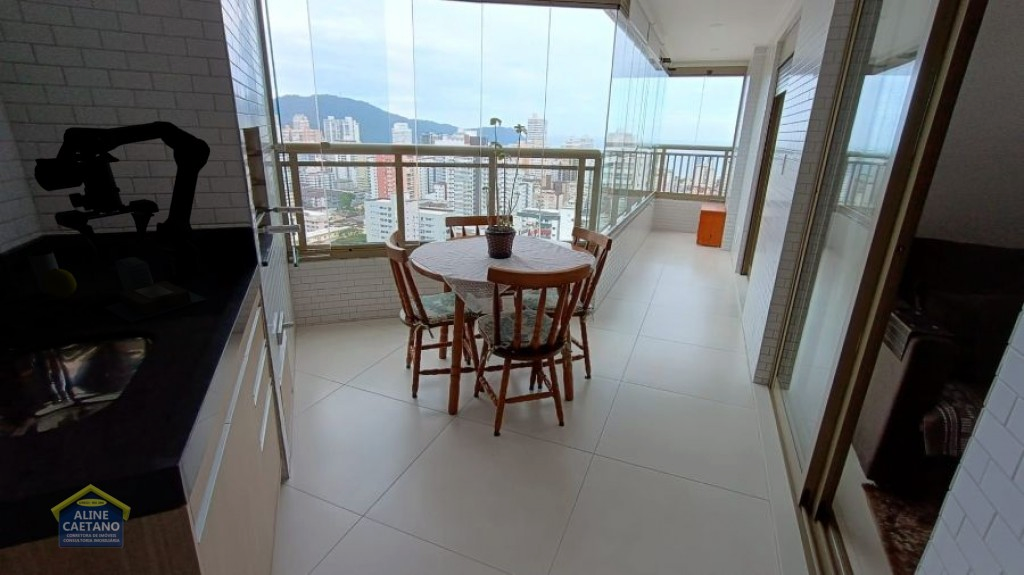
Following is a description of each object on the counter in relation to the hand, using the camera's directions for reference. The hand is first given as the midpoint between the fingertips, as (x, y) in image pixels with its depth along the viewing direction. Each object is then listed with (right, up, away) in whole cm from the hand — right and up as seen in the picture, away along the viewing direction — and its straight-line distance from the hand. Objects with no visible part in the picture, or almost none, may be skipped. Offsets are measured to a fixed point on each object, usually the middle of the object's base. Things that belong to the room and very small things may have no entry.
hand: (120, 246), depth 114 cm
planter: (-21, -11, +5) cm, 24 cm away
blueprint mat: (+10, -15, -1) cm, 18 cm away
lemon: (-14, -13, +1) cm, 20 cm away
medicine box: (0, -12, +5) cm, 13 cm away
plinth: (+10, -15, -1) cm, 18 cm away
